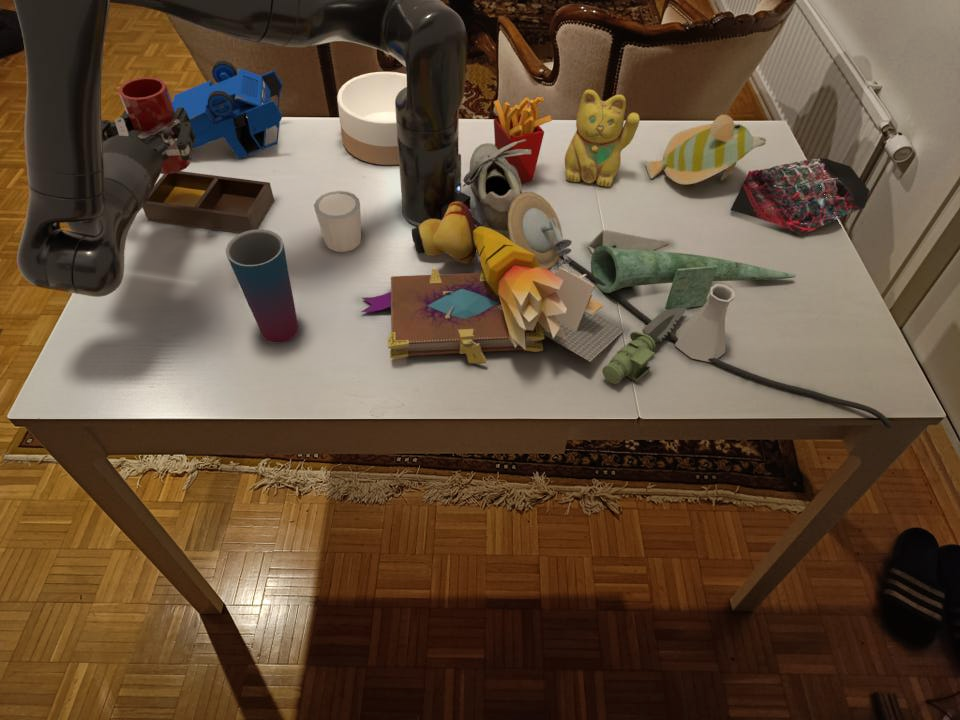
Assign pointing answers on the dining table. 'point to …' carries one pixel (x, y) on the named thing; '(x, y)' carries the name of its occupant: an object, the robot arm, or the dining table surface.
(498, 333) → the book
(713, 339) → the flask
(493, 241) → the torch
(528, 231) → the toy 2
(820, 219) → the fabric swatch
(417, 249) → the toy
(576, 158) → the figurine
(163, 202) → the caddy
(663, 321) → the knife
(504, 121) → the french fries
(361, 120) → the bowl
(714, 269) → the decorative horn
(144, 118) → the tumbler
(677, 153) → the decorative fish sculpture
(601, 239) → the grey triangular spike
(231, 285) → the dining table surface
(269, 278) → the cup
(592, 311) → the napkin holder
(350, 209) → the shot glass
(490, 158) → the shoe
